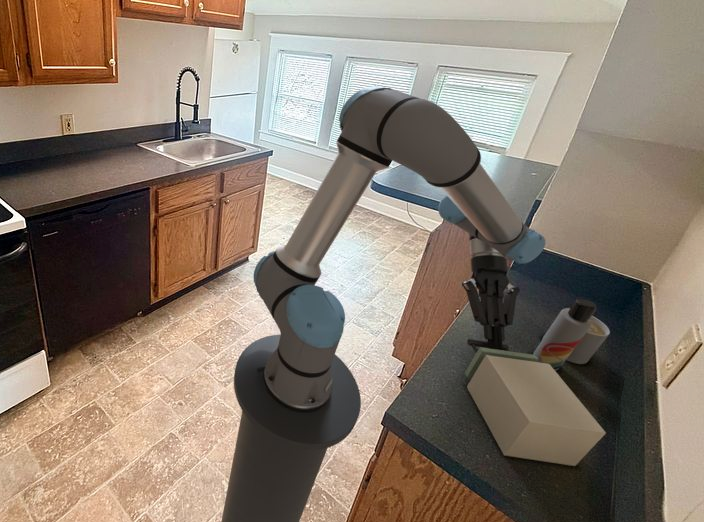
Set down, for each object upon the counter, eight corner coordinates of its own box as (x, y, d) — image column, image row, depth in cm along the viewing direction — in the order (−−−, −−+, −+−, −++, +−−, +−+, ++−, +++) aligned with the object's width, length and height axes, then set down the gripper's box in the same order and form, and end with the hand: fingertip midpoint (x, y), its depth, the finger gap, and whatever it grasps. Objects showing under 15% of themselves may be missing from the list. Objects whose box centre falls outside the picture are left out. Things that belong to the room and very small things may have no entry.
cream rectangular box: (466, 386, 88) (485, 354, 83) (526, 395, 87) (549, 363, 82) (503, 455, 74) (529, 421, 69) (575, 466, 74) (606, 433, 69)
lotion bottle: (555, 375, 94) (601, 314, 84) (529, 360, 97) (570, 300, 88) (560, 364, 97) (605, 304, 88) (534, 349, 101) (575, 291, 91)
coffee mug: (587, 370, 96) (610, 342, 91) (540, 348, 102) (559, 320, 97) (588, 343, 105) (609, 316, 100) (545, 323, 111) (563, 297, 106)
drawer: (452, 352, 96) (466, 327, 92) (502, 359, 95) (518, 334, 91) (497, 432, 77) (517, 404, 73) (559, 441, 77) (582, 414, 73)
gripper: (504, 263, 100) (513, 357, 93) (453, 257, 101) (458, 350, 94) (525, 257, 93) (536, 359, 86) (470, 251, 93) (477, 351, 86)
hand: (495, 354), depth 90 cm, fingers closed
